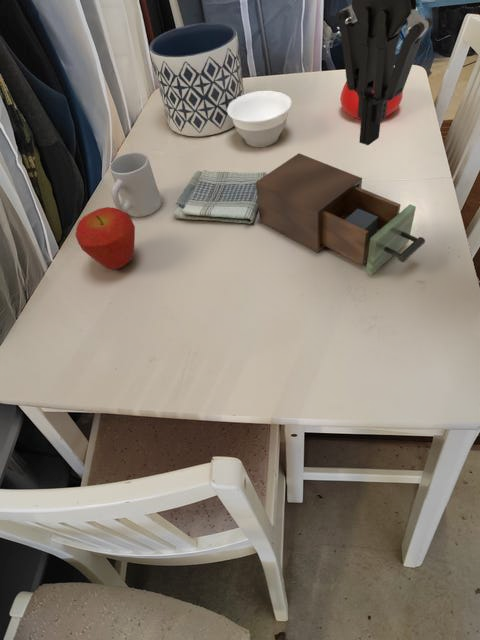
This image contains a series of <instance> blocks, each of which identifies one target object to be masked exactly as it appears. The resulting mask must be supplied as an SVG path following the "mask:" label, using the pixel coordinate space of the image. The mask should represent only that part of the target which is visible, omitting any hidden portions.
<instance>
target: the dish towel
mask: <svg viewBox="0 0 480 640" xmlns="http://www.w3.org/2000/svg"><path fill="white" fill-rule="evenodd" d="M267 174H268V172H266V171H264V172H263V171H262V172H234V171H210V170H206V169H205V170H204V169H203V170H197V171H195V173H193V176H192V177H191V179H190V181H189V182H188V184H187V185H186V186H185V188H184V190H183V191H182V193H181V195H180V196H179V198H178V199H176V202H175V204H176V205H177V206H176V209H175V210H174V213H173V215H174V218H175V219H183V220H193V221H212V222H213V221H216V222H223V223H237V224H248V225H251V224H253V223H254V221H255V219H256V216H257V212H258V211H259V208H258V199H257V190H256V182H257V181H258V180H260V179H261V178H263V177H264V176H266V175H267Z"/></svg>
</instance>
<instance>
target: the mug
mask: <svg viewBox="0 0 480 640" xmlns="http://www.w3.org/2000/svg"><path fill="white" fill-rule="evenodd" d="M109 170H110V172H111V176H112V178H113V181H114V184H113V185H112V187H111V198H112V201H113V203H114V206H115V208H116V209H119V210H121V211H124V212H126V213H128V215H129V216H131V217H134V218H143V217H147V216H150V215H153V214H154V213H155V212H157V211H158V210H159V209H160V207H161V206H162V203H163V202H162V197H161V195H160V191H159V188H158V185H157V182H156V178H155V175H154V172H153V170H152V166H151V163H150V159H149V157H148V156H147V155H146V154H145V153H142V152H128V153H125V154H123V155H119V156H118V157H116V158H114V159H113V161H111V163H110V165H109ZM120 199H121V201H120ZM121 202H122V204H123V205H122V204H121Z"/></svg>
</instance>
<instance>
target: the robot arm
mask: <svg viewBox="0 0 480 640" xmlns="http://www.w3.org/2000/svg"><path fill="white" fill-rule="evenodd" d="M350 2H351V3H350V5H348V6H346V7H344V8H343V9H341V10H339V11H337V12H336V13H335V15H334V16H335V17H334V18H335V21H336V24H337V26H338V29H339V32H340V37H341V46H342V54H343V63H344V70H345V78H346V81H347V87H348V89H349V90H351V91H352V90H354V91H355V92H357V95H358V96H359V103H358V118H361V119H360V130H359V131H360V133H359V141H358V143H360V144H361V145H365V146H370V145H371V144H373V143H374V142H375V141H376V140H378V139H379V138H380V131H381V130H380V129H381V124H382V122H383V121H385V119H386V117H387V116H386V112H387V104H388V101H390V100H392V99H393V98H395V97H396V96H398V95H399V94H400V93H402V91H403V92H404V89H405V85H406V83H407V80H408V77H409V75H410V72H411V70H412V67H413V64H414V61H415V59H416V56H417V53H418V51H419V48H420V45H421V42H422V40H423V38H424V37H425V36H426V34H427V33H428V32H429V30H430V29H431V28H432V26H433V19H432V18H430V17H425V18H424V17H423V16H422V15H421V14H420V13H419V12H418V10H417V7H418V3H417V0H351V1H350ZM406 24H407V26H406ZM404 26H406V28H405V30H404V34H405V35H406V36H405V37H404V39H403V40H402V43H401V46H400V49H399V52H398V55H397V57H396V53H397V44H398V43H399V41H400V38H401V30H402V29H403V28H404ZM373 90H374V93H372V91H373ZM358 118H357V119H358Z"/></svg>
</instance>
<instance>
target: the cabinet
mask: <svg viewBox="0 0 480 640" xmlns="http://www.w3.org/2000/svg"><path fill="white" fill-rule="evenodd" d="M362 183H363V177H360V176H358V175H355V174H353V173H350V172H348V171H345V170H343V169H340V168H338V167H335V166H333V165H330V164H327V163H325V162H323V161H320V160H318V159H315V158H312V157H309V156H308V155H305V154H302V153H297V154H295V155H294V156H292V157H290V158H289V159H288V160H286V161H285V162H283V163H282V164H280V165H278V166H277V167H276V168H274V169H273V170H271V171H269V172H268V173H267V175H266V176H264V177H263V178H261V179H260V180H258V181H257V182H256V190H257V199H258V215H259V222H260V223H261V224H263V225H265V226H267V227H268V228H270V229H273V230H274V231H276V232H277V233H280V234H282V235H284V236H285V237H287V238H289V239H291V240H292V241H295V242H297V243H298V244H301V245H303V246H304V247H305V248H307V249H310V250H311V251H313V252H315V253H320V252H321V251H322V250H323V249H325V248H326V246H324V245H322V244H320V239H321V213H322V212H323V211H324V210H326V209H327V208H328V207H330V206H331V205H332V204H334V203H335V202H336V201H337V200H339V199H340V198H341V197H343V196H344V195H345V194H347V193H348V192H349V191H350V190H352V189H353V188H354V187H356V186H357V187H359V188H362V185H363V184H362Z"/></svg>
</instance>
